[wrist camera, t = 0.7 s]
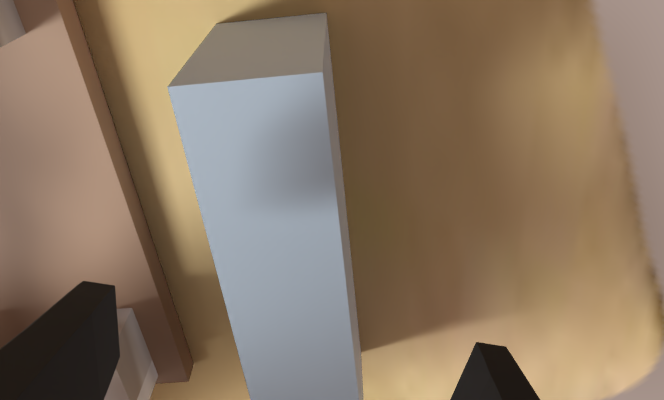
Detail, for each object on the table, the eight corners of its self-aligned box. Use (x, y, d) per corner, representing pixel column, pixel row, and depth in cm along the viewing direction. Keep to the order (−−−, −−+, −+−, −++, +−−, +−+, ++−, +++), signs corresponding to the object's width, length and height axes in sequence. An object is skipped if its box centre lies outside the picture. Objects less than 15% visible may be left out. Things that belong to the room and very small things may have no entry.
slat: (285, 354, 25) (271, 479, 20) (216, 22, 17) (167, 87, 12) (360, 349, 25) (367, 474, 20) (326, 11, 17) (322, 71, 12)
